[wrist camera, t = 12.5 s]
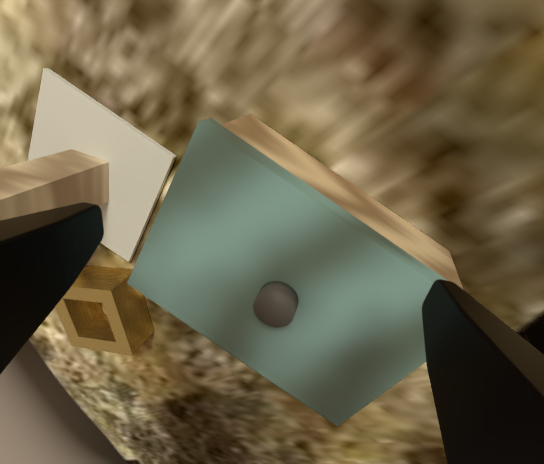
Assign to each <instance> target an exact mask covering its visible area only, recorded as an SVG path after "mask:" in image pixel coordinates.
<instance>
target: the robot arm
mask: <svg viewBox="0 0 544 464" xmlns="http://www.w3.org/2000/svg"><path fill="white" fill-rule="evenodd" d="M103 235H104V227H103V218H102V210H101V208H100V206H98V205H96V204H92V203H87V202H81V203H76V204H72V205H68V206H63V207H59V208H54V209H50V210H45V211H41V212H36V213H32V214H27V215H23V216H18V217H14V218H9V219H5V220H0V374H1V373H2V371H3V370H4V369H5V368H6V366H7V365H8V364H9V363H10V362H11V360H12V359H13V358H14V357H15V355H16V354H17V353H18V352H19V350H20V349H21V348H22V347H23V345H24V344H25V343H26V342H27V341H28V339H29V338H30V337H31V336H32V335H33V333H34V332H35V331H36V330H37V328H38V327H39V326H40V325H41V323H42V322H43V321H44V320H45V319H46V317H47V316H48V315H49V314H50V312H51V311H52V310H53V309H54V307H55V306H56V305H57V304H58V303H59V301H60V300H61V299H62V298H63V296H64V295H65V294H66V293H67V291H68V290H69V289H70V288H71V286H72V285H73V284H74V282H75V281H76V279H77V278H78V277H79V275H80V273H81V272H82V270H83V269H84V267H85V266H86V264H87V263H88V261H89V259H90V258H91V256H92V255H93V253H94V252H95V250H96V249H97V247H98V245H99V244H100V242H101V241H102V239H103ZM422 321H423V332H424V343H425V354H426V363H427V368H428V373H429V378H430V383H431V388H432V392H433V397H434V402H435V407H436V411H437V416H438V421H439V425H440V430H441V435H442V440H443V444H444V449H445V454H446V458H447V463H448V464H544V320H543V321H541V322H540V323H538V324H536V325H535V326H533V327H532V328H530V329H529V330H527V331H526V332H524V333H523V334H521V335H519V334H517V333H516V332H515V331H514V330H512V329H511V328H510V327H509V326H507V325H506V324H505V323H504V322H503V321H501V320H500V319H499V318H498V317H496V316H495V315H494V314H493V313H491V312H490V311H489V310H488V309H486V308H485V307H484V306H483V305H481V304H480V303H479V302H478V301H477V300H475V299H474V298H473V297H472V296H470V295H469V294H468V293H467V292H465V291H464V290H463V289H462V288H460V287H459V286H458V285H457V284H455V283H454V282H451V281H446V280H442V279H438V280H436V281H435V282H434V283H433V284H432V286H431V288H430V290H429V292H428V294H427V296H426V298H425V300H424V302H423V304H422Z"/></svg>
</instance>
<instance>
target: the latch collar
mask: <svg viewBox="0 0 544 464" xmlns="http://www.w3.org/2000/svg"><path fill="white" fill-rule="evenodd" d="M132 271H133V269H120V268H107V267H93V266H85V267H84V269H83V270H82V272H81V273H80V275H79V277H78V278H77V279H76V281H75V282H74V284H73V285H72V286H71V288H70V289H69V290H68V291H67V293H66V294H65V295H64V296H63V298H62V299H61V300H60V301H59V303H58V304H57V305H56V306H55V308H56V310H57V312H58V315H59V317H60V319H61V322H62V324H63V327H64V329H65V331H66V334H67V336H68V338H69V341H70V343H71V345H72V346H75V347H82V348H88V349H94V350H100V351H107V352H113V353H119V354H125V355H132V356H133V355H134V354H135V352H136V351H137V350H138V349H139V348H140V347H141V345H142V344H143V343H144V342H145V341H146V340H147V339H148V337H149V336H150V335H151V334H152V333H153V332H154V329H153V325H152V322H151V318H150V315H149V312H148V308H147V305H146V301H145V298H144V295H143V294H142V293H140V292H139V291H137V290H136V289H134V288H133V287H131V286H130V285H128V284H127V282H128V280H129V277H130V275H131V273H132ZM100 303H102V304H103V306H104V309H105V312H106V314H103V311H102V308H101V305H100Z"/></svg>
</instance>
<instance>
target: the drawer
mask: <svg viewBox="0 0 544 464" xmlns="http://www.w3.org/2000/svg"><path fill="white" fill-rule="evenodd" d="M438 279H442V280H446V281H451V282H454V283H455V284H457V285H458V286H459V287H460V288H462V285H461V282H460V279H459V277H458V274H457V271H456V268H455V266H454V263H453V260H452V257H451V255H450V252H449V250H447V249H446V248H444V247H443V246H441V245H440V244H438V243H437V242H435V241H434V240H433V239H431V238H430V237H428V236H427V235H425V234H424V233H422V232H421V231H419V230H418V229H417V228H415V227H414V226H412V225H411V224H409V223H408V222H406V221H405V220H403V219H402V218H401V217H399V216H398V215H396V214H395V213H393V212H392V211H390V210H389V209H387V208H386V207H385V206H383V205H382V204H380V203H379V202H377V201H376V200H374V199H373V198H371V197H370V196H369V195H367V194H366V193H364V192H363V191H361V190H360V189H358V188H357V187H355V186H354V185H353V184H351V183H350V182H348V181H347V180H345V179H344V178H342V177H341V176H339V175H338V174H337V173H335V172H334V171H332V170H331V169H329V168H328V167H326V166H325V165H323V164H322V163H321V162H319V161H318V160H316V159H315V158H313V157H312V156H310V155H309V154H307V153H306V152H305V151H303V150H302V149H300V148H299V147H297V146H296V145H294V144H293V143H291V142H290V141H289V140H287V139H286V138H284V137H283V136H281V135H280V134H278V133H277V132H275V131H274V130H273V129H271V128H270V127H268V126H267V125H265V124H264V123H262V122H261V121H259V120H258V119H257V118H255V117H254V116H252V115H251V114H249V115H246V116H244V117H241V118H238V119H235V120H233V121H230V122H227V123H224V124H222V125H221V124H219V123H218V122H216V121H215V120H213V119H212V118H209V119H205V120H202V121H199V122H198V124H197V126H196V128H195V131H194V133H193V135H192V137H191V140H190V142H189V144H188V146H187V149H186V151H185V153H184V155H183V158H182V160H181V162H180V164H179V167H178V169H177V171H176V173H175V176H174V178H173V180H172V182H171V185H170V187H169V189H168V192H167V194H166V196H165V198H164V201H163V203H162V205H161V207H160V210H159V212H158V214H157V216H156V219H155V221H154V223H153V225H152V228H151V230H150V232H149V234H148V237H147V239H146V241H145V243H144V246H143V248H142V250H141V252H140V255H139V257H138V259H137V261H136V264H135V266H134V268H133V271H132V273H131V275H130V277H129V280H128V282H127V284H128V285H130V286H131V287H133V288H134V289H136V290H137V291H139V292H140V293H142V294H143V295H144V296H146V297H147V298H149V299H150V300H152V301H153V302H155V303H156V304H158V305H159V306H161V307H162V308H164V309H165V310H167V311H168V312H169V313H171V314H172V315H174V316H175V317H177V318H178V319H180V320H181V321H183V322H184V323H186V324H187V325H189V326H190V327H191V328H193V329H194V330H196V331H197V332H199V333H200V334H202V335H203V336H205V337H206V338H208V339H209V340H211V341H212V342H214V343H215V344H216V345H218V346H219V347H221V348H222V349H224V350H225V351H227V352H228V353H230V354H231V355H233V356H234V357H236V358H237V359H239V360H240V361H241V362H243V363H244V364H246V365H247V366H249V367H250V368H252V369H253V370H255V371H256V372H258V373H259V374H261V375H262V376H264V377H265V378H266V379H268V380H269V381H271V382H272V383H274V384H275V385H277V386H278V387H280V388H281V389H283V390H284V391H286V392H287V393H288V394H290V395H291V396H293V397H294V398H296V399H297V400H299V401H300V402H302V403H303V404H305V405H306V406H308V407H309V408H311V409H312V410H313V411H315V412H316V413H318V414H319V415H321V416H322V417H324V418H325V419H327V420H328V421H330V422H331V423H333V424H334V425H336V426H337V427H338V426H339V425H340V424H342V423H343V422H344V421H346V420H347V419H349V418H350V417H351V416H353V415H354V414H355V413H357V412H358V411H359V410H361V409H362V408H363V407H365V406H366V405H368V404H369V403H370V402H372V401H373V400H374V399H376V398H377V397H378V396H380V395H381V394H383V393H384V392H385V391H387V390H388V389H389V388H391V387H392V386H393V385H395V384H396V383H398V382H399V381H400V380H402V379H403V378H404V377H406V376H407V375H408V374H410V373H411V372H412V371H414V370H415V369H417V368H418V367H419V366H421V365H422V364H423V363H425V362H426V354H425V343H424V332H423V321H422V304H423V302H424V300H425V298H426V296H427V294H428V292H429V290H430V288H431V286H432V284H433V283H434V282H435V281H436V280H438ZM462 289H463V288H462ZM475 300H476V299H475Z"/></svg>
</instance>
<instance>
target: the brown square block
mask: <svg viewBox="0 0 544 464" xmlns="http://www.w3.org/2000/svg"><path fill="white" fill-rule="evenodd" d="M108 201H109V162H108V161H105V160H102V159H99V158H96V157H93V156H90V155H87V154H84V153H81V152H78V151H76V150H73V149H70V150H66V151H63V152H59V153H55V154H51V155H48V156H44V157H40V158H36V159H33V160H29V161H25V162H21V163H18V164H14V165H10V166H6V167H2V168H0V220H5V219H9V218H14V217H18V216H23V215H27V214H32V213H36V212H41V211H45V210H50V209H54V208H59V207H63V206H68V205H72V204H76V203H81V202H87V203H92V204H96V205H98V206H100V205H102V204H104V203H106V202H108Z"/></svg>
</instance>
